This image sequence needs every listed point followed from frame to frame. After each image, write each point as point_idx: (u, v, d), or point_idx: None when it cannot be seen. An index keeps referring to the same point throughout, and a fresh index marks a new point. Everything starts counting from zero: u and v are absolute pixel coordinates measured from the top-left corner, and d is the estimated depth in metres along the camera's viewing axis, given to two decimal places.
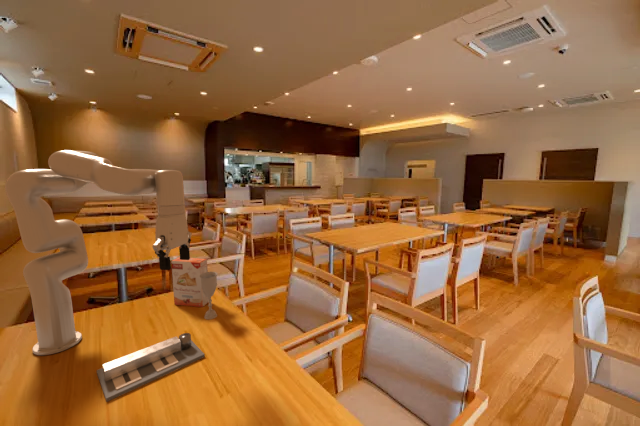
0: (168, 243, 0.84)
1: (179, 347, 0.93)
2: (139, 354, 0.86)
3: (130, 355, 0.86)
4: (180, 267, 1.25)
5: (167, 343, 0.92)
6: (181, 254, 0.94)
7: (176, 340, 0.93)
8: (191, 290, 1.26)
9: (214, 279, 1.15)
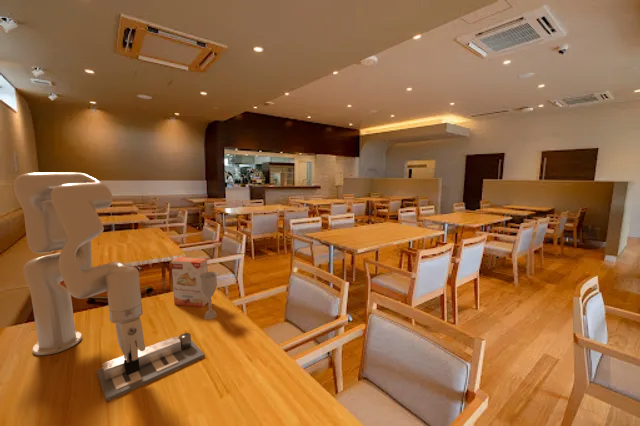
0: None
1: (179, 347, 0.93)
2: (138, 354, 0.86)
3: None
4: (180, 267, 1.25)
5: (167, 343, 0.92)
6: None
7: (176, 340, 0.93)
8: (191, 290, 1.26)
9: (214, 279, 1.15)
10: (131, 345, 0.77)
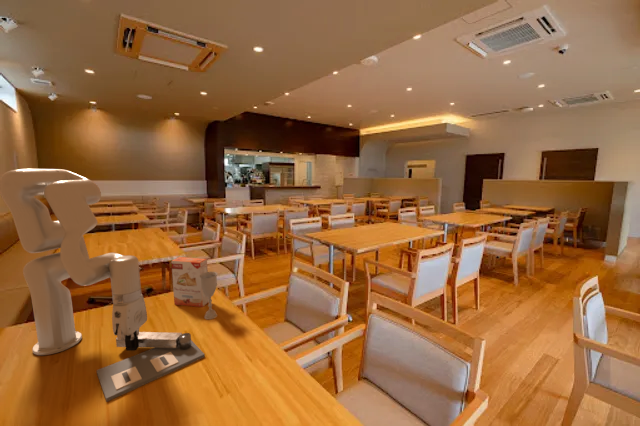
0: None
1: (174, 345, 0.94)
2: (144, 336, 0.96)
3: (141, 333, 0.97)
4: (180, 267, 1.25)
5: (168, 336, 0.96)
6: None
7: (175, 337, 0.95)
8: (191, 290, 1.26)
9: (214, 279, 1.15)
10: (118, 327, 0.87)
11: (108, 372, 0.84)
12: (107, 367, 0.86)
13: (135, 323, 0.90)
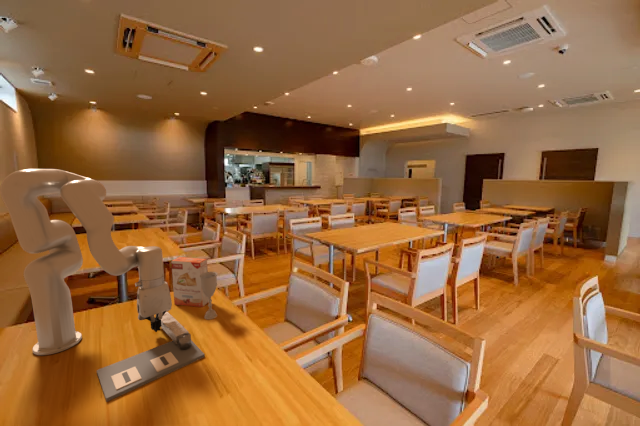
0: None
1: (176, 341, 0.96)
2: (169, 322, 1.05)
3: (171, 318, 1.07)
4: (180, 267, 1.25)
5: (177, 330, 0.99)
6: None
7: (179, 333, 0.97)
8: (191, 290, 1.26)
9: (214, 279, 1.15)
10: None
11: (108, 372, 0.84)
12: (107, 367, 0.86)
13: (152, 308, 0.99)
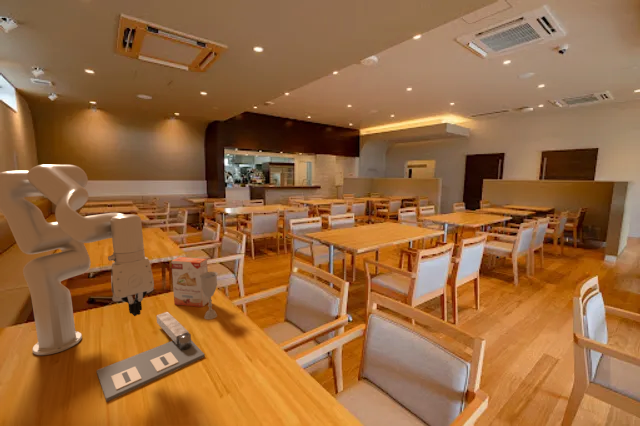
0: None
1: (176, 341, 0.96)
2: (169, 322, 1.05)
3: (171, 318, 1.07)
4: (180, 267, 1.25)
5: (177, 330, 0.99)
6: None
7: (179, 333, 0.97)
8: (191, 290, 1.26)
9: (214, 279, 1.15)
10: None
11: (108, 372, 0.84)
12: (107, 367, 0.86)
13: (130, 287, 0.84)
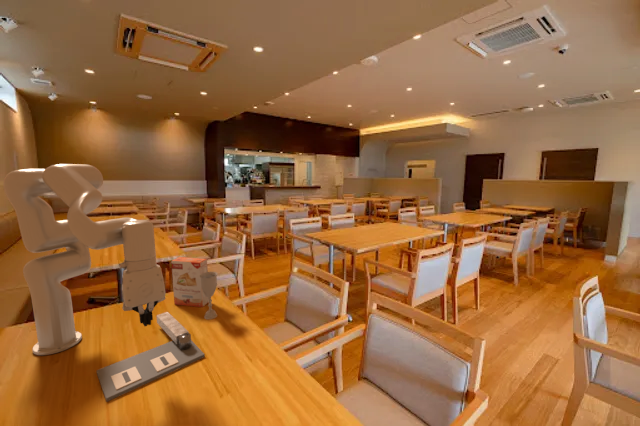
0: None
1: (176, 341, 0.96)
2: (169, 322, 1.05)
3: (171, 318, 1.07)
4: (180, 267, 1.25)
5: (177, 330, 0.99)
6: None
7: (179, 333, 0.97)
8: (191, 290, 1.26)
9: (214, 279, 1.15)
10: None
11: (108, 372, 0.84)
12: (107, 367, 0.86)
13: (140, 296, 0.80)
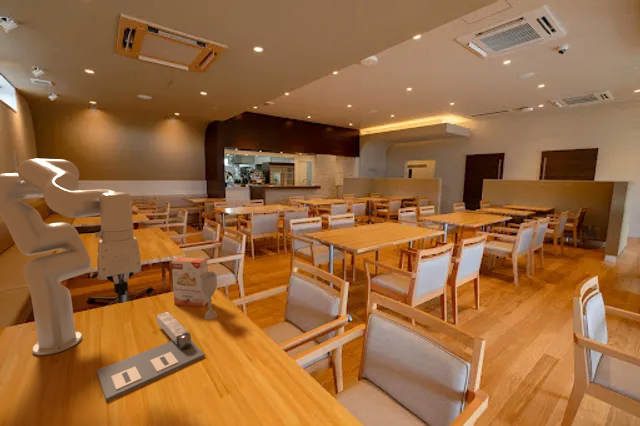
0: None
1: (176, 341, 0.96)
2: (169, 322, 1.05)
3: (171, 318, 1.07)
4: (180, 267, 1.25)
5: (177, 330, 0.99)
6: None
7: (179, 333, 0.97)
8: (191, 290, 1.26)
9: (214, 279, 1.15)
10: None
11: (108, 372, 0.84)
12: (107, 367, 0.86)
13: (115, 266, 0.82)
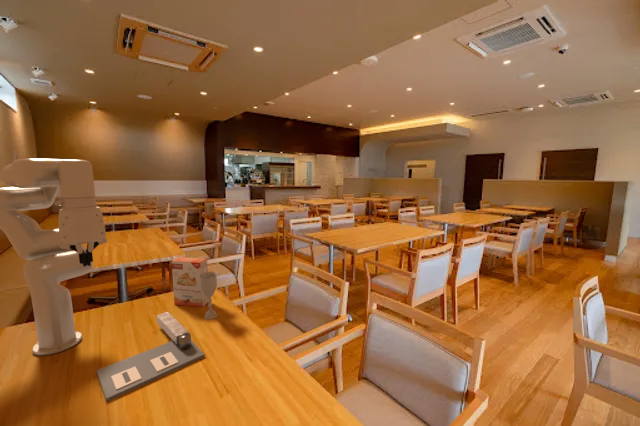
0: None
1: (176, 341, 0.96)
2: (169, 322, 1.05)
3: (171, 318, 1.07)
4: (180, 267, 1.25)
5: (177, 330, 0.99)
6: (86, 259, 0.84)
7: (179, 333, 0.97)
8: (191, 290, 1.26)
9: (214, 279, 1.15)
10: None
11: (108, 372, 0.84)
12: (107, 367, 0.86)
13: (77, 235, 0.80)
